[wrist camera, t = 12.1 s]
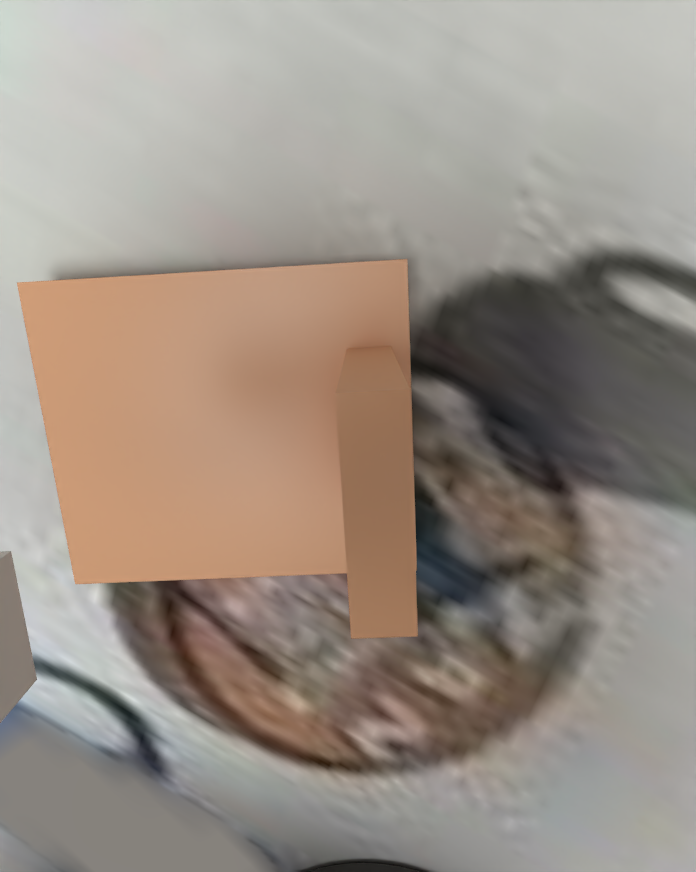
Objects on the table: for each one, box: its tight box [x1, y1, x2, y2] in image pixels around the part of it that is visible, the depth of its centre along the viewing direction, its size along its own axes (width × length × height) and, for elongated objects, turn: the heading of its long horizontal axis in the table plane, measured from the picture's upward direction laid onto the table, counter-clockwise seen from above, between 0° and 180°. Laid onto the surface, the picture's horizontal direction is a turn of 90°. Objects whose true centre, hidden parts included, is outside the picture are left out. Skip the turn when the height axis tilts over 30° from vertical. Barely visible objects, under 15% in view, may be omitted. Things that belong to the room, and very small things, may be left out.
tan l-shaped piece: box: [17, 259, 418, 639], centre depth 19 cm, size 12×14×12 cm
